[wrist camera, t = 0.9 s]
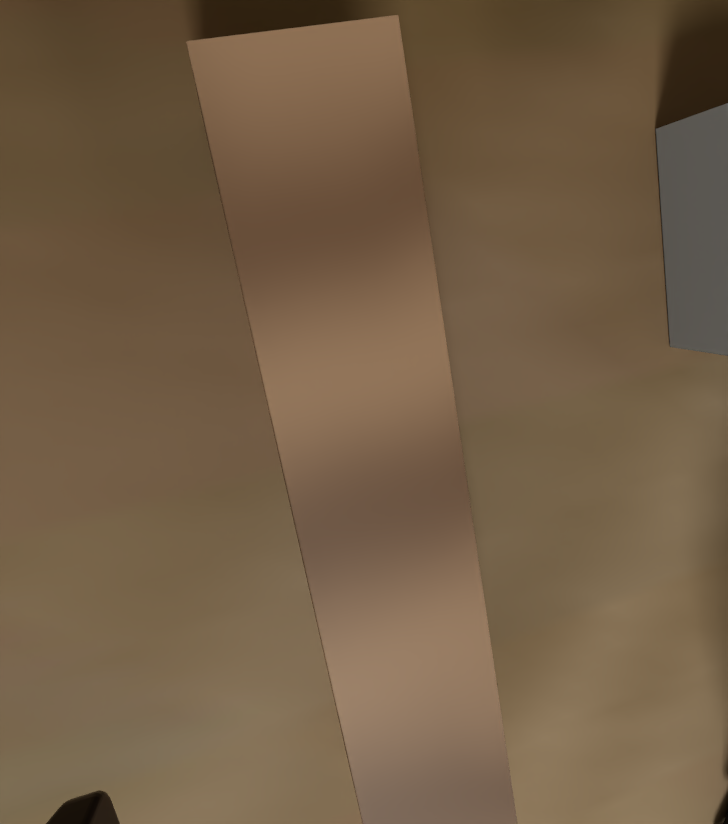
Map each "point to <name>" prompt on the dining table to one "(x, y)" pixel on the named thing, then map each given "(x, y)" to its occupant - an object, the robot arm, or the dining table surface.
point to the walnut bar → (362, 403)
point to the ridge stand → (696, 228)
